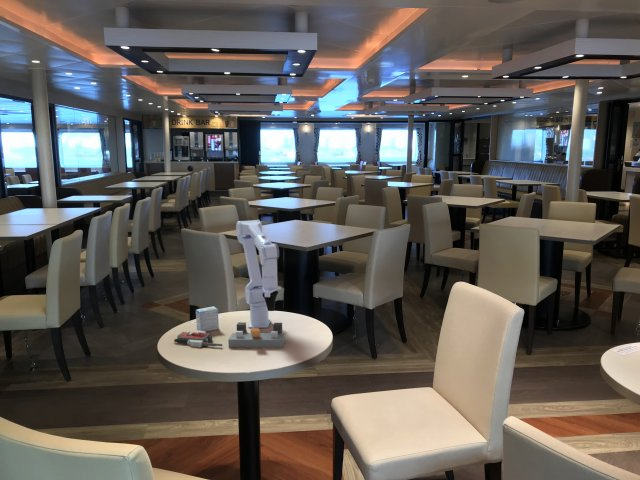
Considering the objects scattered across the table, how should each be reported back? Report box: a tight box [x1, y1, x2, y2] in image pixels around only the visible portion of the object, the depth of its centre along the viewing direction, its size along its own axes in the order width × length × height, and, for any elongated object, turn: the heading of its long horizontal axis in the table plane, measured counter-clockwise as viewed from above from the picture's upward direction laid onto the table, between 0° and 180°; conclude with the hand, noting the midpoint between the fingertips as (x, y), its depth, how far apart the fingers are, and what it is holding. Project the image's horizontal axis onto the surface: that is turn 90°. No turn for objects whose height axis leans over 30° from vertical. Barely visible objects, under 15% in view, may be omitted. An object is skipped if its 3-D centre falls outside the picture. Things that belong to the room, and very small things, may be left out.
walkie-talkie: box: [173, 329, 224, 348], centre depth 195 cm, size 9×4×20 cm
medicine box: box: [195, 306, 220, 332], centre depth 210 cm, size 8×4×9 cm, turn 123°
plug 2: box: [272, 322, 283, 333], centre depth 201 cm, size 10×3×6 cm, turn 176°
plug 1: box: [236, 321, 248, 333], centre depth 202 cm, size 10×3×6 cm, turn 176°
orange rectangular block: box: [250, 328, 262, 338], centre depth 190 cm, size 1×3×5 cm
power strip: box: [227, 330, 286, 349], centre depth 193 cm, size 7×20×5 cm, turn 87°
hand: (270, 310), depth 200 cm, fingers closed
